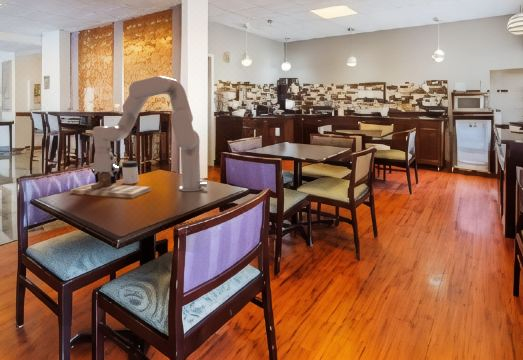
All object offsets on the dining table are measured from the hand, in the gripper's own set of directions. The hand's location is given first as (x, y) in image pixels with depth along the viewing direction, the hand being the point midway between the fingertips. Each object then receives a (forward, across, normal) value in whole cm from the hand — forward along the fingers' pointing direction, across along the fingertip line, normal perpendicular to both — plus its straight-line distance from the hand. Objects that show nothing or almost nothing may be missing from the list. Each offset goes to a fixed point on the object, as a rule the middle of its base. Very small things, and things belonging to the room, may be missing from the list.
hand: (105, 182), depth 200 cm
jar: (+4, -2, -19) cm, 20 cm away
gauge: (+1, 0, +3) cm, 4 cm away
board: (+4, -6, +4) cm, 8 cm away
